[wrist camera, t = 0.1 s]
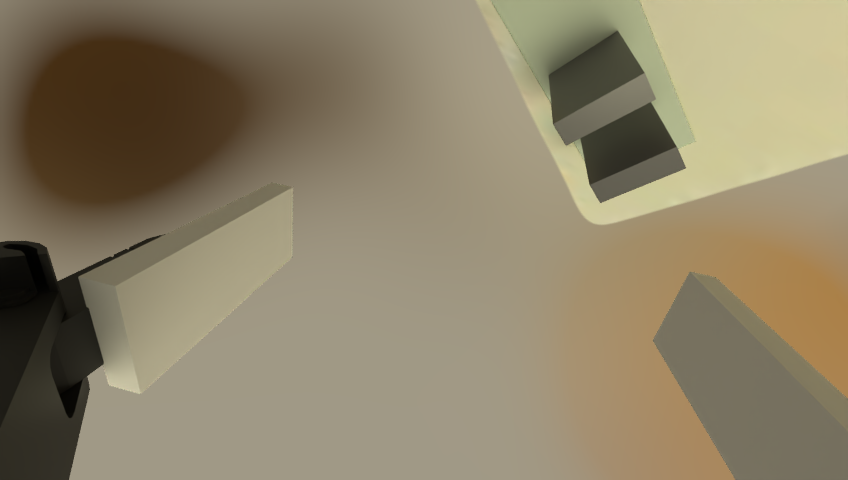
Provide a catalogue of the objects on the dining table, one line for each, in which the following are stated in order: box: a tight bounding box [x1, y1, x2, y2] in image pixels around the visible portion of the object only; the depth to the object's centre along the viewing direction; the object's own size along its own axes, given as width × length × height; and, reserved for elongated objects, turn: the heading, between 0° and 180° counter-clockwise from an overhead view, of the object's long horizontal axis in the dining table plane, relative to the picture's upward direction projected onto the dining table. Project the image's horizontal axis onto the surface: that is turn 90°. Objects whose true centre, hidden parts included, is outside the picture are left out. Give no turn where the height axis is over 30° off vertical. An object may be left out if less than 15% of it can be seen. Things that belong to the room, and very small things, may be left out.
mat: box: [491, 0, 695, 161], centre depth 30 cm, size 9×33×1 cm, turn 39°
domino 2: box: [580, 102, 686, 203], centre depth 31 cm, size 6×2×10 cm, turn 129°
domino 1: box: [549, 31, 656, 145], centre depth 29 cm, size 6×2×10 cm, turn 129°
